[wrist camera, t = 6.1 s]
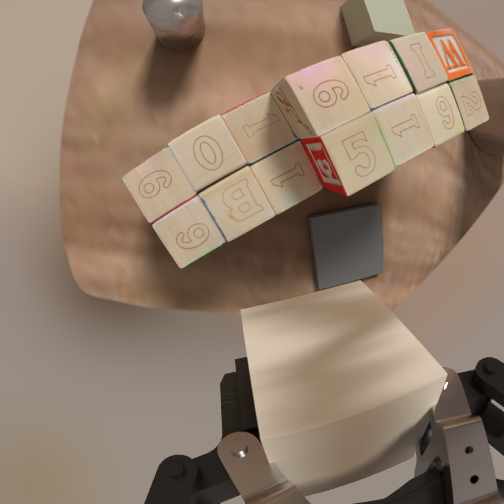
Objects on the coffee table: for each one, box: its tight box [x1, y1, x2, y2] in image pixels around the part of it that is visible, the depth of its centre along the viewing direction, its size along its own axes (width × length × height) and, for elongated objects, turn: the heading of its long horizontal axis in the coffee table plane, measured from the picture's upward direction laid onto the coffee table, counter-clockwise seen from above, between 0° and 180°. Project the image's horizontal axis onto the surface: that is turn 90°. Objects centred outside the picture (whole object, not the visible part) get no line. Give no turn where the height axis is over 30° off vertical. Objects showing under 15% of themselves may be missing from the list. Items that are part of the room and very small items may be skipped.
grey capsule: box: [142, 0, 205, 51], centre depth 16 cm, size 4×4×6 cm
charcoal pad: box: [308, 203, 383, 290], centre depth 26 cm, size 7×7×1 cm
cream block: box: [240, 280, 448, 496], centre depth 9 cm, size 5×5×6 cm
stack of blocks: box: [122, 28, 489, 269], centre depth 17 cm, size 21×6×12 cm, turn 118°
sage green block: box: [340, 0, 415, 46], centre depth 17 cm, size 4×4×4 cm
